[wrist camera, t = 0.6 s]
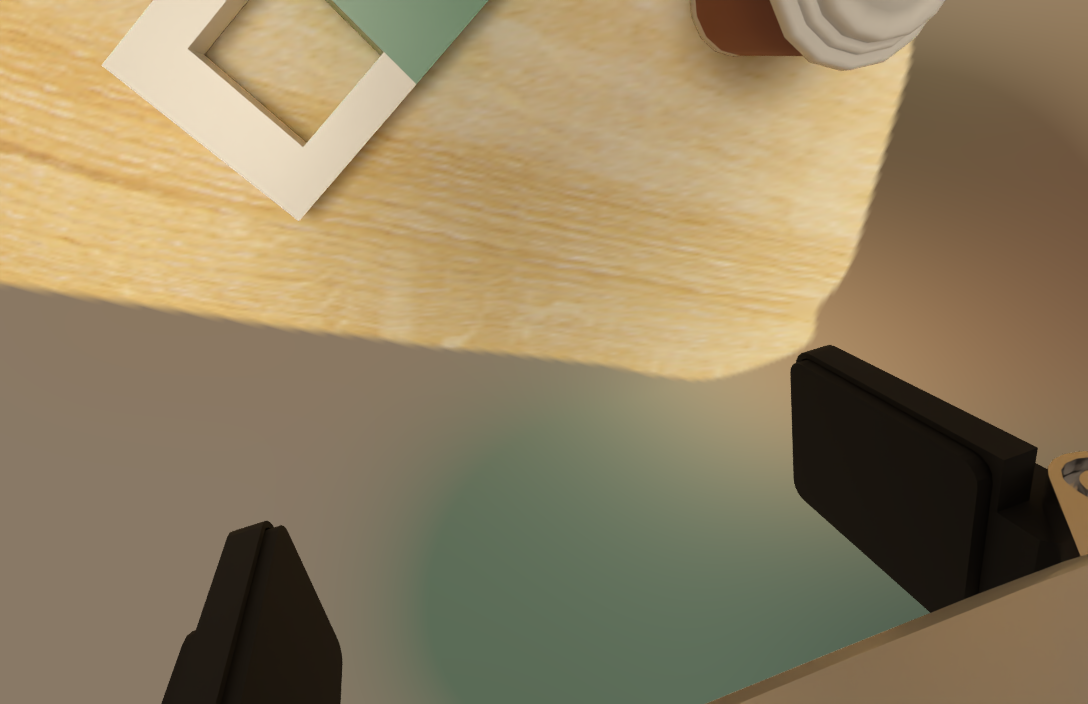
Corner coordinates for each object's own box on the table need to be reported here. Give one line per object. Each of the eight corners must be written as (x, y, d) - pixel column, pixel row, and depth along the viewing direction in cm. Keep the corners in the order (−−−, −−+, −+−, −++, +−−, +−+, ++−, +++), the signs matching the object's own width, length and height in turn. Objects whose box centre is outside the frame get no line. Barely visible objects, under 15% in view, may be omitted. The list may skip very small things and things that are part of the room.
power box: (371, -237, 28) (371, -287, 24) (526, -46, 32) (544, -65, 28) (126, 69, 29) (93, 63, 26) (304, 212, 33) (297, 224, 30)
